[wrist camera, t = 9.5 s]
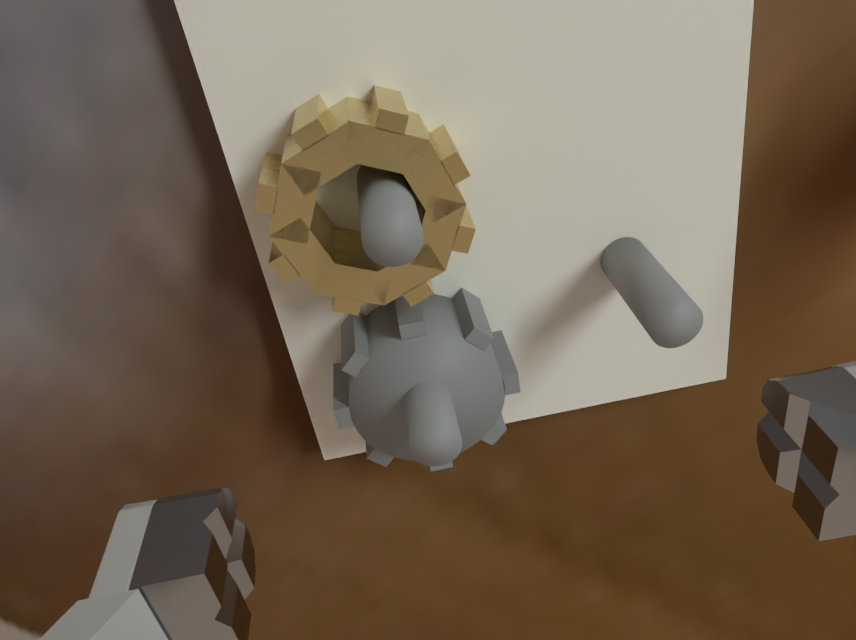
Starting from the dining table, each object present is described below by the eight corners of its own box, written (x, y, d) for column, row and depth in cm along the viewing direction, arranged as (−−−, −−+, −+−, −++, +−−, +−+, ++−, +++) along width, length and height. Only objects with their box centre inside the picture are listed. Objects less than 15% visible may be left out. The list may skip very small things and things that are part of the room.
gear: (221, 155, 24) (207, 187, 21) (398, 43, 22) (406, 62, 20) (336, 305, 27) (336, 348, 24) (495, 214, 26) (513, 249, 23)
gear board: (168, -51, 22) (105, -30, 16) (740, -162, 22) (893, -184, 16) (324, 437, 32) (322, 561, 26) (710, 359, 32) (795, 464, 26)
